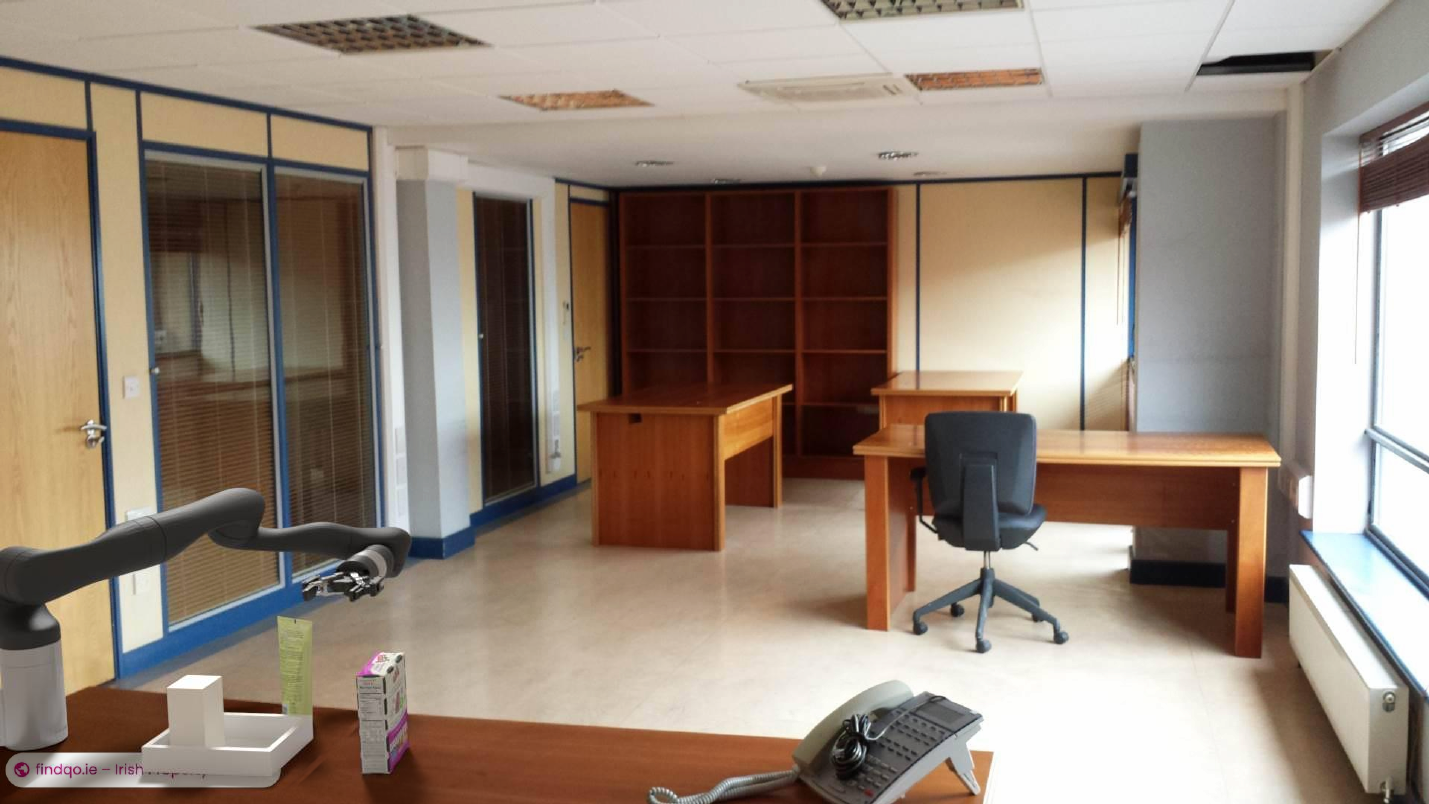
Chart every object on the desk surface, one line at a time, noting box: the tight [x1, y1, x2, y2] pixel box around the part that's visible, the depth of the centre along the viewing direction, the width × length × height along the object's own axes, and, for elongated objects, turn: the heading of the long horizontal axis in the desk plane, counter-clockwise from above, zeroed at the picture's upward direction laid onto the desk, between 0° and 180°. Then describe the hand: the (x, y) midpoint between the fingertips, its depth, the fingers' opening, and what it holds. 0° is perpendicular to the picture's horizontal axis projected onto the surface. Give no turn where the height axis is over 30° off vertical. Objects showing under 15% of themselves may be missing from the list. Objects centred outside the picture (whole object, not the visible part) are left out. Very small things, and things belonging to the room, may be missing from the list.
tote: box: [141, 711, 314, 777], centre depth 192 cm, size 21×15×5 cm
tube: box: [276, 615, 314, 723], centre depth 204 cm, size 6×5×20 cm
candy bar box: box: [355, 651, 410, 775], centre depth 191 cm, size 11×5×16 cm, turn 179°
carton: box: [166, 674, 225, 747], centre depth 192 cm, size 6×6×12 cm
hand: (328, 596), depth 216 cm, fingers open, 8 cm apart
